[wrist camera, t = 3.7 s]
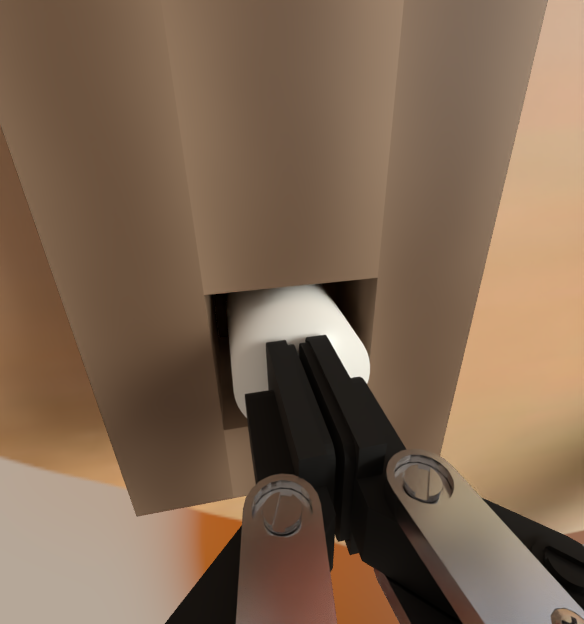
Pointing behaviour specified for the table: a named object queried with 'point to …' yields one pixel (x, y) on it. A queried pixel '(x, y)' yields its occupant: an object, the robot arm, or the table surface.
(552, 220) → the table surface
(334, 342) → the white plug
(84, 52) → the plug block
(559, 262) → the table surface
